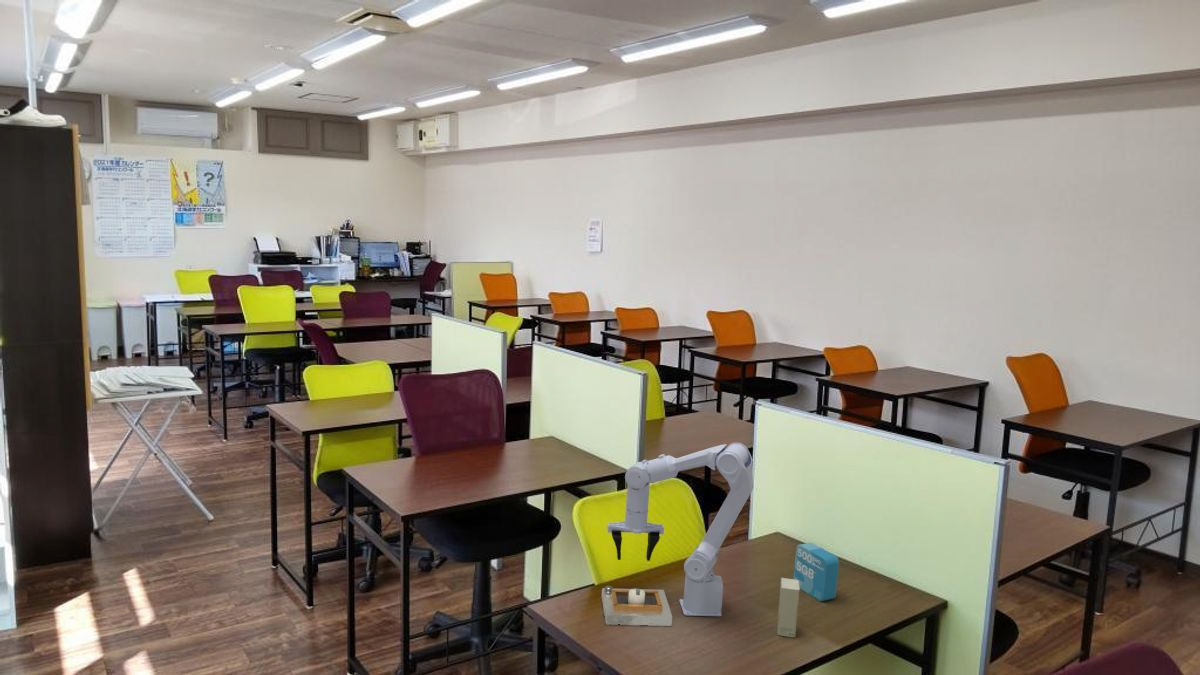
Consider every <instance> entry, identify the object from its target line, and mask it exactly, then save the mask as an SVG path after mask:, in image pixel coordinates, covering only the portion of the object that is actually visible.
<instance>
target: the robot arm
mask: <svg viewBox="0 0 1200 675" xmlns="http://www.w3.org/2000/svg"><path fill="white" fill-rule="evenodd" d="M665 454H666V453H663V454H660V455H658V457H657V458H655V459H650V460H647V459H643V460H642V461H638V462H635V463H634V464H633V465H631V466H630V467H629V468H628V469H627V470H626V472H625V476H624V479H625V482H626V484H627V488H626V490H627V491H626V501H625V516H624V517H625V518H624V521H620V522H619V521H618V522H607V526H606V527H607V529H606V531H607V533H608V534H611V537H612V540H613V542H614V546H615V548H616V557H617V560H618V561H621V560H622V558H621V557H622V551H621V550H622V542H623V537H622V533H633V534H636V535H637V534H640V535H641V534H647V547H646V560H647V562H650V561H651V558H652V554H653V552H654V549H655V547H656V546H657V544H658V543H659V541H660V539H661V536H660V535H664V534H665V526H664V524H658V523H653V522H648V516H649V515H648V514H649V513H648V512H649V502H650V501H649V499H650V484H655V483H658V482H662V481H666V480H669V479H675V478H676V477H677V476H678V473H679V472H682V471H685V470H691V469H695V468H700V467H704V466H707V467H708V468H710V469H711V470H712V471H716V470H718V472H719V473H720V474H721V475H722V477H723V478H724V479H725V480H726V481H727V484H728V487H729V489H730V490H729V492H728V494H727V496H726V498H725V499H724V501H723V502H722V505H721V506H720V508H719V511H717V514H716V515H715V517H714V519H713V521H712V522H711V524H710V526H709V528H708V529H707V531H706V533H705V535H704V537H703V539H702V540H701V542H700V544H699V545H697V546H696V547H695V548H694V549H693V552H691V555H689V557H687V559H685V561H684V564H683V569H684V570H683V571H684V573H685V578H684V587H683V588H684V590H683V591H684V592H683V598H680V599H679V604H680V607H681V610H682V613H683V615H684V616H688V617H689V616H690V617H699V616H700V617H722V609H723V608H722V607H723V597H724V596H723V594H724V583H723V579H722V576H721V575H716V574H715V573H714V569H713V567H714V566H715V565H716V564H717V562H718V552H719V551H720V549H721V547H722V544H723V543H724V541H725V539H726V537H727V536H728V534H729V532H730V531H731V528H732V527H733V525H734V523H735V522H736V520H737V519H738V516H739V514H740V513H741V511H742V510H743V507H744V505H745V504H746V502H747V500H748V499H749V497H750V494H752V492H753V489H754V479H753V478H754V476H753V457H752V455H751V453H750V451H749V448H748V447H747V446H746V445H745V444H743V443H741V442H732V443H729V444H728V445H727V444H726V443H725V444H720V445H715V446H712V447H709V448H706V449H702V450H699V451H695V452H693V453H689V454H687V455H684V456H680V457H677V458H676V457H674V456H672V455H665Z"/></svg>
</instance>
